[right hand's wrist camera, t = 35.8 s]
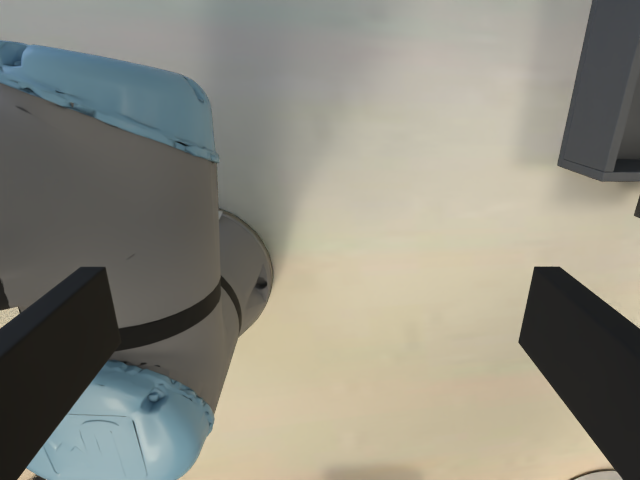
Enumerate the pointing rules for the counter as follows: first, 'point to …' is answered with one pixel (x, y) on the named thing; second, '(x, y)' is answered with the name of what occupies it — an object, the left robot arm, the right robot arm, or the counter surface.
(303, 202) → the counter surface
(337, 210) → the counter surface
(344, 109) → the counter surface
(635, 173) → the bin
